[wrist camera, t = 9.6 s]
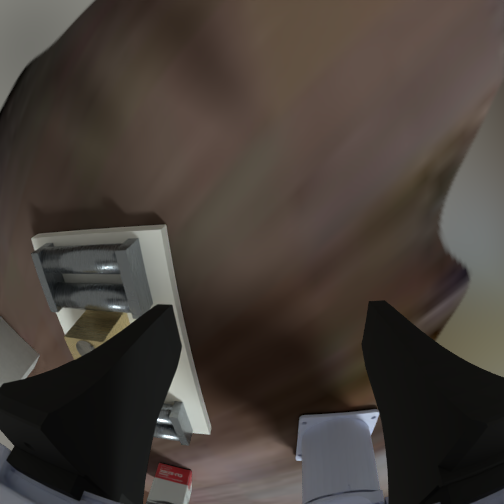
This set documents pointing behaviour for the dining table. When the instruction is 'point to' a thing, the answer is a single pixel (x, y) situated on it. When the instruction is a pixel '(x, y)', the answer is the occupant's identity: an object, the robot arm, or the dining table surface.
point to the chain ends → (106, 299)
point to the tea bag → (14, 355)
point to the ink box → (170, 486)
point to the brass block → (94, 330)
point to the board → (162, 292)
